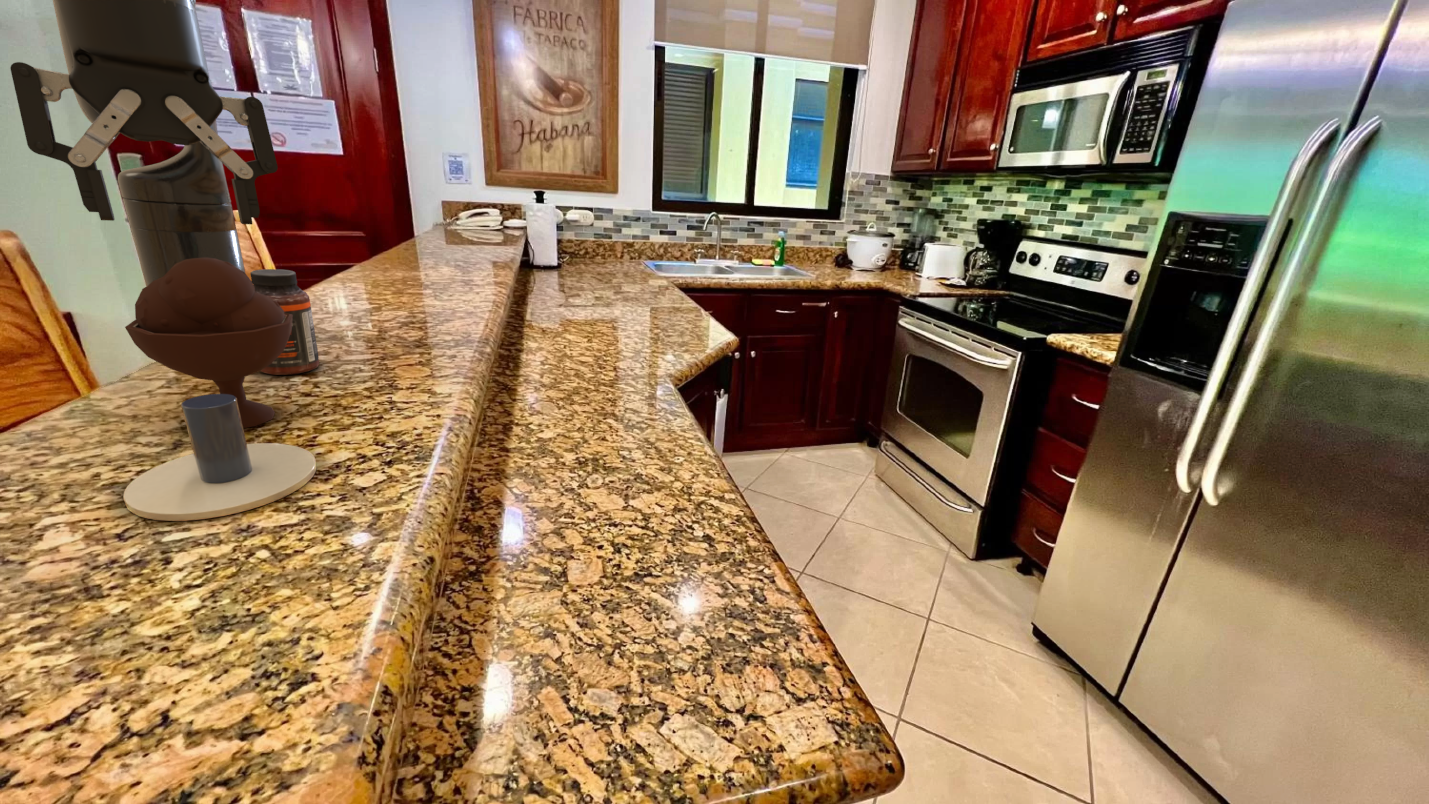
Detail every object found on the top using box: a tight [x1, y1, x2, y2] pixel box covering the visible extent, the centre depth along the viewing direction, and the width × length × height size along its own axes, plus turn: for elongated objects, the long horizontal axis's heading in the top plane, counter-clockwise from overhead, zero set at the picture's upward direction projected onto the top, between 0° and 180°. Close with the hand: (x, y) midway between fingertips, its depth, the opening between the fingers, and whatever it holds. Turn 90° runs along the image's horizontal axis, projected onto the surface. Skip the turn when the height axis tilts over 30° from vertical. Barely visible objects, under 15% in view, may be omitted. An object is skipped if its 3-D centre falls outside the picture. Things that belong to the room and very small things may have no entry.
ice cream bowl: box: [124, 258, 293, 429], centre depth 49 cm, size 11×11×15 cm
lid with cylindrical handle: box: [122, 393, 318, 522], centre depth 41 cm, size 11×11×7 cm
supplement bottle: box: [250, 268, 320, 376], centre depth 63 cm, size 6×6×11 cm
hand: (181, 222), depth 46 cm, fingers open, 8 cm apart
